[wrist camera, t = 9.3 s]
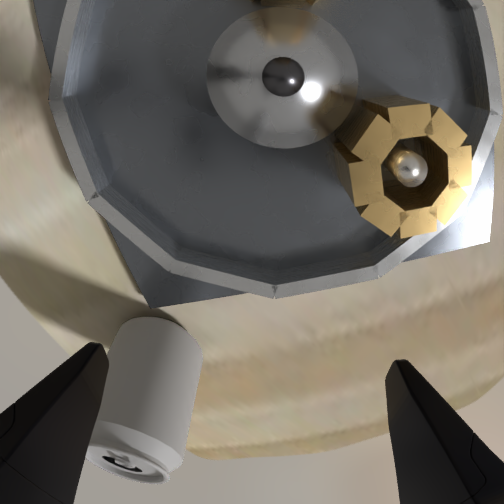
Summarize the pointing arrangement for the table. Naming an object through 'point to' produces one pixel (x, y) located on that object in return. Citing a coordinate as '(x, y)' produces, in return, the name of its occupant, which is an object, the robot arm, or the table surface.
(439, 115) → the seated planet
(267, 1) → the hollow octagonal wooden tube
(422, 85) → the tray
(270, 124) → the domed metal knob cap
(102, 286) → the table surface
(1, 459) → the robot arm
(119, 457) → the can
